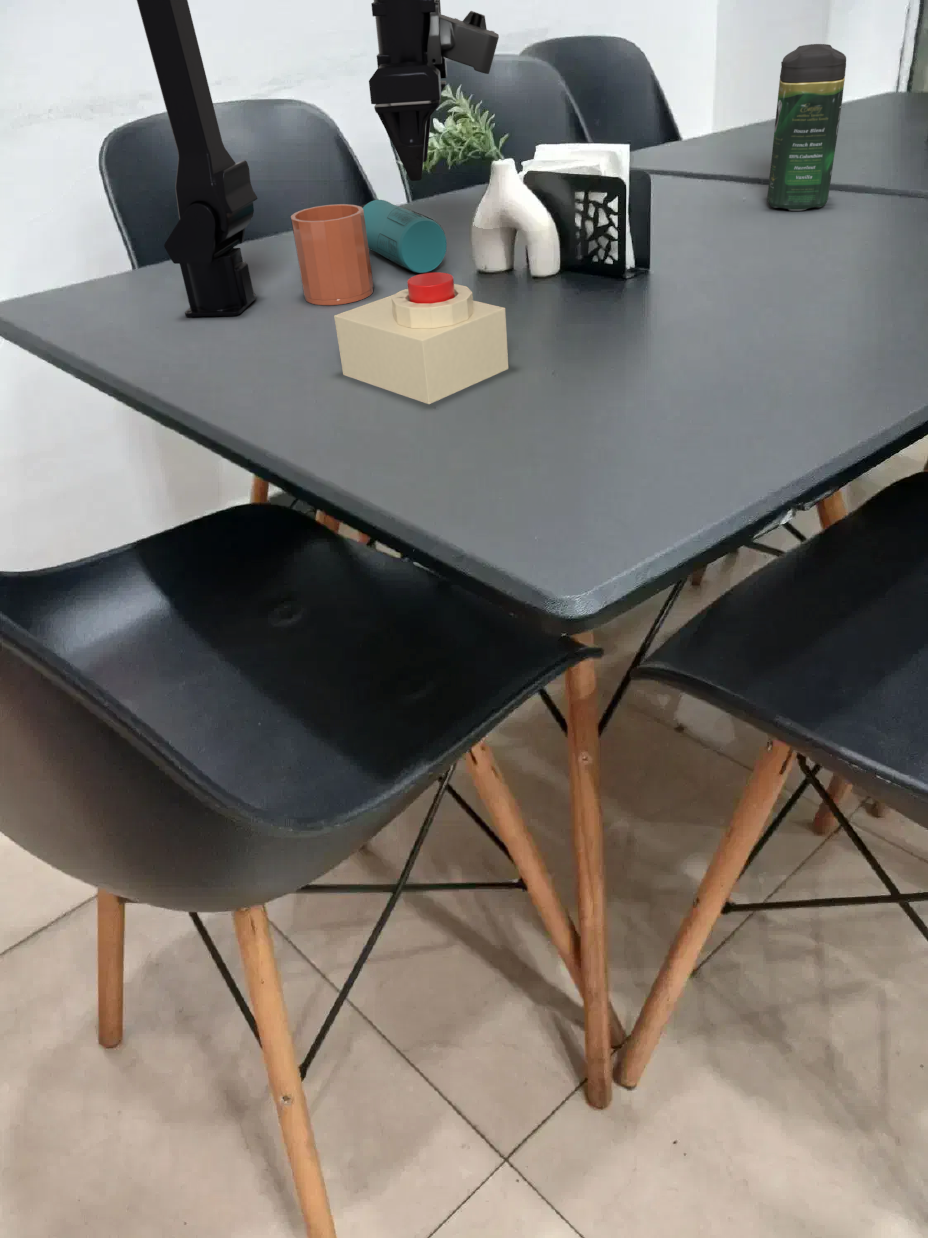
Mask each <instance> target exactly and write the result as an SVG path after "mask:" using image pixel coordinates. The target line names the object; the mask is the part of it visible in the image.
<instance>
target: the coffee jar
mask: <svg viewBox="0 0 928 1238" xmlns="http://www.w3.org/2000/svg"><path fill="white" fill-rule="evenodd" d="M780 67H781V68H780V73H779V81H778V82H779V83H778V90H777V91H778V92H777V102H776V112H775V121H774V129H773V141H772V151H771V160H770V168H769V169H770V170H769V178H768V188H767V202H768V204H769V206H770V207H771V208H774V209H786V210H788V211H792V212H793V211H794V212H800V211H801V212H803V211H806V210H808V209H813V208H822V207H824V206H825V205H826V204H827V202H828V200H829V195H830V190H831V189H830V188H831V182H832V176H833V169H834V160H835V154H836V148H837V142H838V141H837V140H838V133H839V128H840V121H841V115H842V113H841V112H842V106H843V105H842V104H843V96H844V88H845V79H846V71H847V70H846V68H847V55H845V54H844V53H843V52H842V51H839V50H838V49H835V48H834V47H832V45H831V44H827V43H812V44H803V45H799V46H798V47H797V48H796V49H794V50H793V51H790V52H789V53H787V54H786V55H785V56H783V59H782V61H781V62H780Z"/></svg>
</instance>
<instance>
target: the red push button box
mask: <svg viewBox="0 0 928 1238" xmlns="http://www.w3.org/2000/svg"><path fill="white" fill-rule="evenodd" d="M454 292H455V298H452V299H450V300H447V301H444V302H438V303H431V304H425V303H413V302H410V301H409V292H408V287H407V288H405V289H402V290H399V291H398V292H396V293H394V294H391V295H389V296H386V297H382V298H379V299H377V300H373V301H372V302H369V303H365V304H363V305H360V306H357V307H354V308H352V309H349V310H346V311H343V312H341V313H338V314H334V317H333V319H334V324H335V329H336V336H337V343H338V349H339V356H340V362H341V369H342V370H341V371H342V375H343V376H346V377H348V378H351V379H354V380H358V381H360V382H362V383H366V384H368V385H371V386H374V387H377V388H380V389H383V390H386V391H389V392H392V393H394V394H398V395H401V396H403V397H406V398H410V399H413V400H415V401H418V402H421V403H424V404H427V405H430V404H433V403H435V402H438V401H439V400H443V399H444V398H446V397H449V396H451V395H453V394H455V393H458V392H460V391H462V390H464V389H467V388H468V387H471V386H474V385H476V384H478V383H480V382H482V381H485V380H487V379H489V378H491V377H494V376H495V375H498V374H500V373H502V372H504V371H507V370H509V355H508V354H509V351H508V336H507V335H508V333H507V316H506V315H507V314H506V307H503V306H498V305H494V304H490V303H486V302H481V301H478V300H474V297H473V294H474V293H473V291H472V289H470V288H469V287H468V286H466V285H462V284H457V283H454Z"/></svg>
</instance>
